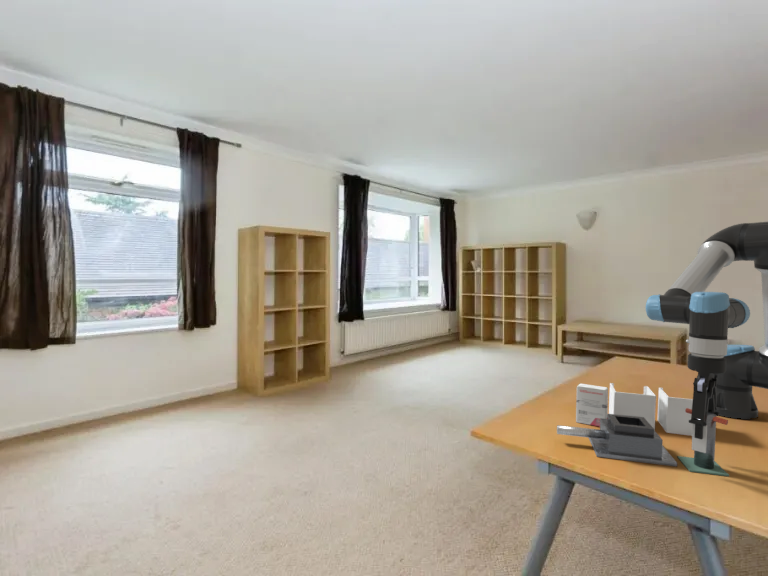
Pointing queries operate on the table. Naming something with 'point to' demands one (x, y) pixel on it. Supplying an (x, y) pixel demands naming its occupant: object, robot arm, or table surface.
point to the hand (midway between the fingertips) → (702, 445)
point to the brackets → (653, 409)
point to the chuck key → (708, 442)
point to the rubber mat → (690, 465)
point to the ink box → (591, 404)
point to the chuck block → (624, 440)
